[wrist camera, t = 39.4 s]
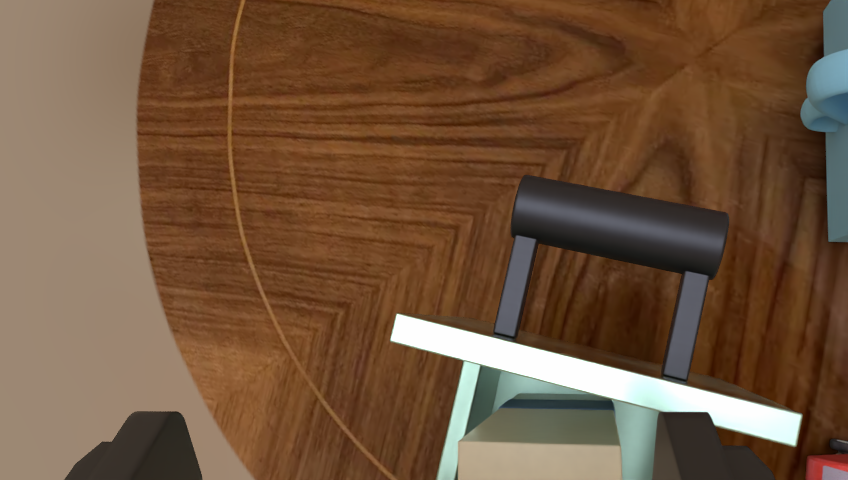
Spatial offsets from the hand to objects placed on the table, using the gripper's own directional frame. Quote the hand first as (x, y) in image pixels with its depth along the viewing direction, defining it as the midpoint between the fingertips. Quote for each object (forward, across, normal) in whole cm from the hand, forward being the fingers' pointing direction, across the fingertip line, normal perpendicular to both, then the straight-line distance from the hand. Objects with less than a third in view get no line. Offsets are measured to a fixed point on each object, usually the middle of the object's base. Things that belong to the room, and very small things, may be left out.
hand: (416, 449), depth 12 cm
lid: (+12, +4, -8) cm, 14 cm away
